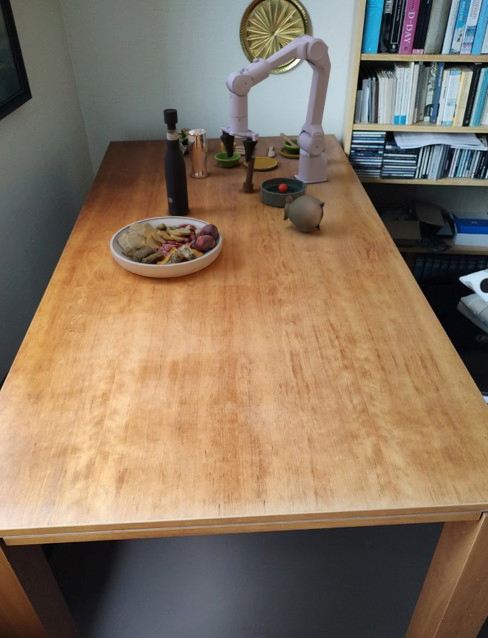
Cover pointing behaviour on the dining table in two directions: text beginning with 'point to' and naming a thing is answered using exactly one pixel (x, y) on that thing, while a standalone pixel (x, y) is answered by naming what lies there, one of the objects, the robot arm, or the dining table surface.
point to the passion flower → (183, 139)
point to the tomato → (283, 188)
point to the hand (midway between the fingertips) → (239, 159)
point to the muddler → (249, 176)
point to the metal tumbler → (198, 152)
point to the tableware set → (261, 163)
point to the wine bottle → (175, 168)
